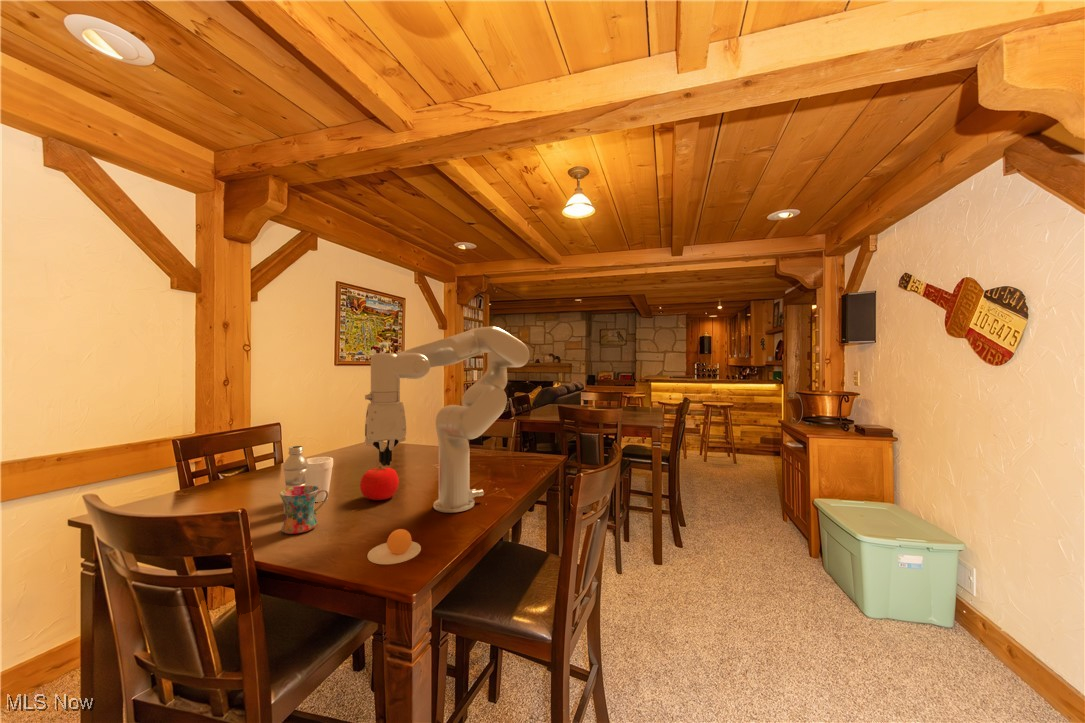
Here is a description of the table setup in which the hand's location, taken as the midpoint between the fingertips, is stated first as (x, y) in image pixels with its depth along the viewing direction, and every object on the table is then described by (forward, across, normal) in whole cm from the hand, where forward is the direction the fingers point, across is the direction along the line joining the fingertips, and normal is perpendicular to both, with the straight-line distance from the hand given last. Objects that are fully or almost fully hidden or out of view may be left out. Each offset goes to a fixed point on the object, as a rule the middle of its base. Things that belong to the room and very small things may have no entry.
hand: (385, 464), depth 114 cm
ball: (+14, -2, -18) cm, 23 cm away
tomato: (+17, +5, +25) cm, 31 cm away
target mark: (+17, -2, -17) cm, 24 cm away
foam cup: (+17, -12, +36) cm, 42 cm away
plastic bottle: (+17, -19, +25) cm, 36 cm away
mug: (+17, -18, +12) cm, 28 cm away
